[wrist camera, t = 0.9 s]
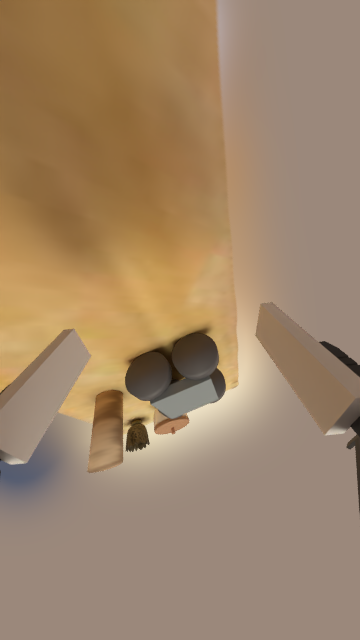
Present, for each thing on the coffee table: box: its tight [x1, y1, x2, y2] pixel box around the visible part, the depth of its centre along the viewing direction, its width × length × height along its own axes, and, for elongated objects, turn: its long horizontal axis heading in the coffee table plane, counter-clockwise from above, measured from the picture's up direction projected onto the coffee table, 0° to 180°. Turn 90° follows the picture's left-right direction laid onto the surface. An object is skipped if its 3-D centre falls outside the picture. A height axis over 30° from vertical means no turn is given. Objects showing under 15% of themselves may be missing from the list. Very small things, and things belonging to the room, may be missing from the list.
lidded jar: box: [154, 408, 189, 434], centre depth 50 cm, size 11×11×9 cm
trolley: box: [125, 333, 226, 419], centre depth 36 cm, size 17×19×10 cm
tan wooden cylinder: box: [88, 390, 123, 473], centre depth 36 cm, size 6×6×14 cm
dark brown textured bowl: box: [126, 419, 149, 452], centre depth 54 cm, size 8×7×8 cm
